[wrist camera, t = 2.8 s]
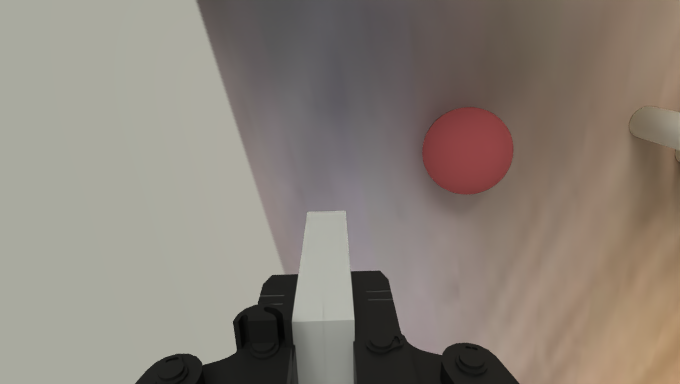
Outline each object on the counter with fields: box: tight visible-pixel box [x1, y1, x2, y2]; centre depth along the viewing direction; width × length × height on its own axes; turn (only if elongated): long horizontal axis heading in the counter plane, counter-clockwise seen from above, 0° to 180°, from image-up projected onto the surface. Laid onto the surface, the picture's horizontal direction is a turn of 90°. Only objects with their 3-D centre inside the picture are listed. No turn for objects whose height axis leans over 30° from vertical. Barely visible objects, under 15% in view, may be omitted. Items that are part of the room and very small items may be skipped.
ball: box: [422, 107, 513, 194], centre depth 28 cm, size 6×6×6 cm
